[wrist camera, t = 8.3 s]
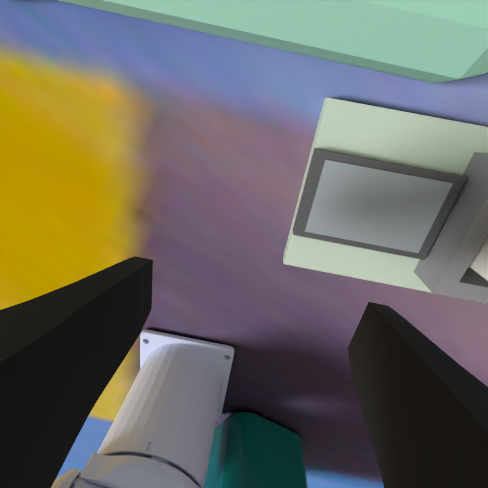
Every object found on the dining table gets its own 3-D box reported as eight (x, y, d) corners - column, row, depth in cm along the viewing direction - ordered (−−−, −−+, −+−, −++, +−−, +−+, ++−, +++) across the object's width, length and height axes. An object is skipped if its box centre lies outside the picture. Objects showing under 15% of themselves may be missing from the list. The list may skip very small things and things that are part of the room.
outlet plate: (538, 306, 19) (588, 342, 16) (283, 256, 19) (285, 283, 16) (654, 159, 15) (753, 171, 12) (324, 98, 15) (337, 94, 12)
